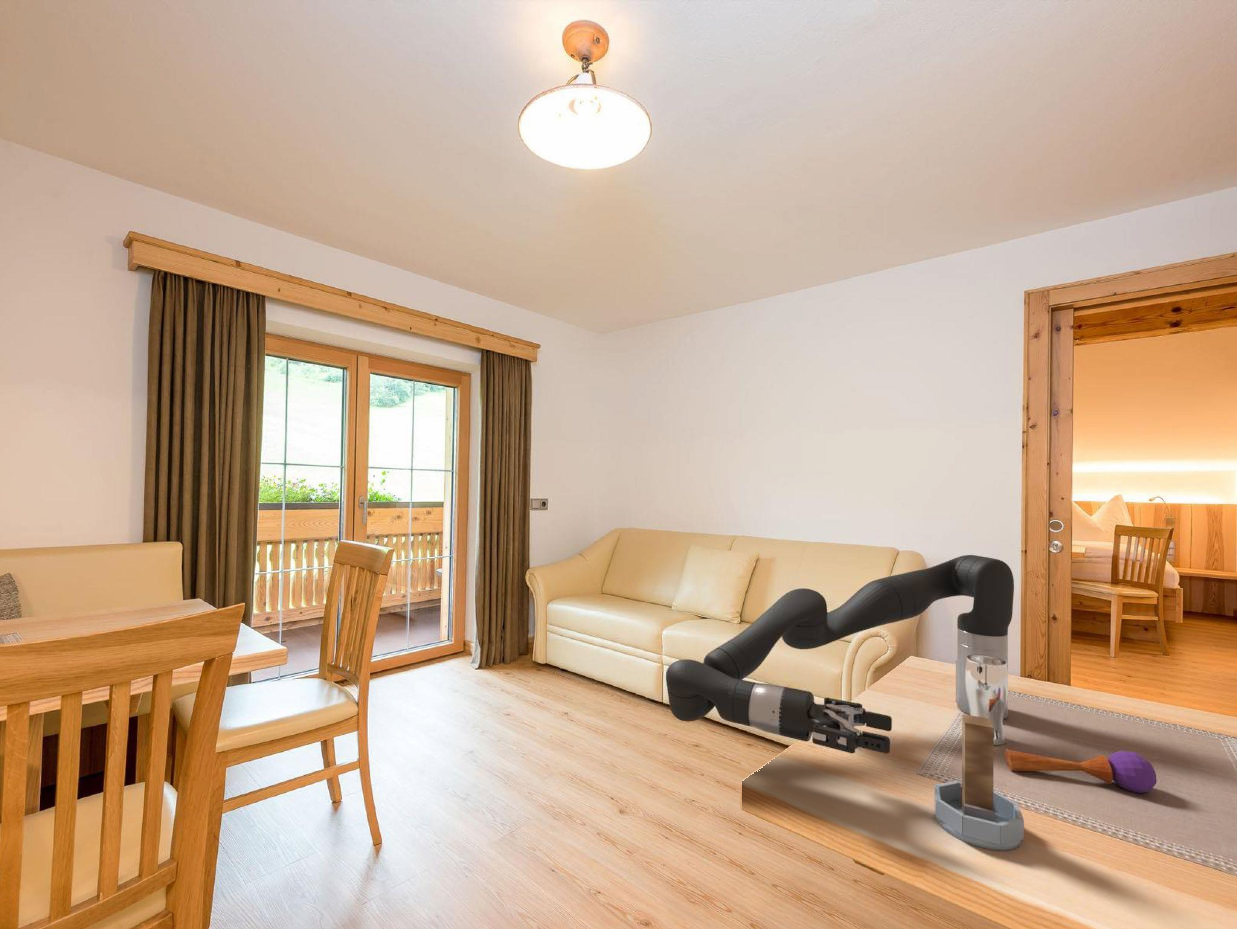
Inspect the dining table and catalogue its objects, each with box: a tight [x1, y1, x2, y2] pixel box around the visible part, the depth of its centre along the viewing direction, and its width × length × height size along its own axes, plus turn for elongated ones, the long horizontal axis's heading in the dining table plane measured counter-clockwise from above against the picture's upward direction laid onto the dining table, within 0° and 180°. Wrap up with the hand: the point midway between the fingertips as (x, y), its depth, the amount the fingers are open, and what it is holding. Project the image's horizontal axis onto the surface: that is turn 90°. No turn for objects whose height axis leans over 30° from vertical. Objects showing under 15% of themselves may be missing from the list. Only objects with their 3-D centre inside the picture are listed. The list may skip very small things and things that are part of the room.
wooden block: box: [961, 713, 995, 814], centre depth 80 cm, size 3×3×14 cm
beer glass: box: [965, 655, 1009, 746], centre depth 109 cm, size 7×7×15 cm
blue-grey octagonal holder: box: [933, 780, 1025, 852], centre depth 80 cm, size 10×10×4 cm
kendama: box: [1004, 749, 1158, 794], centre depth 94 cm, size 6×6×20 cm
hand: (890, 734), depth 85 cm, fingers open, 8 cm apart
